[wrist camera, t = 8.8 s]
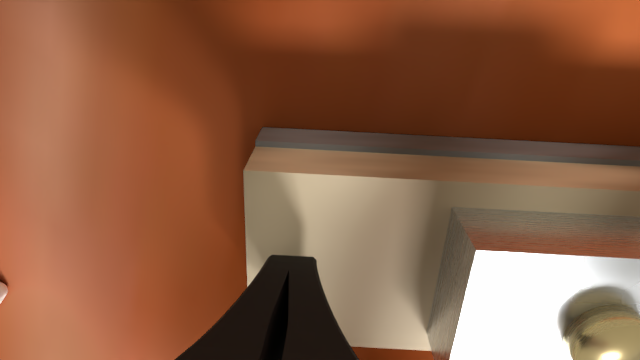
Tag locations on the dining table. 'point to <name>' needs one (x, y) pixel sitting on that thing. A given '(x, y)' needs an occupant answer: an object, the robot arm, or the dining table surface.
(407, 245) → the plane body
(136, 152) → the dining table surface
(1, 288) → the grey padlock
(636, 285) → the lever cap
